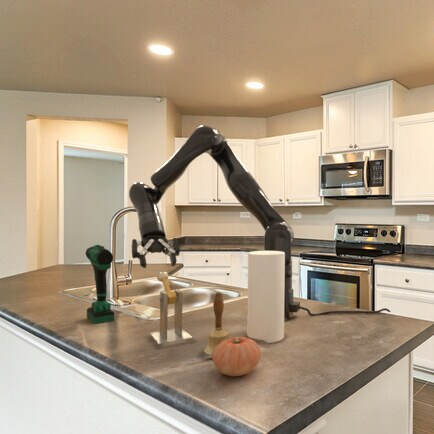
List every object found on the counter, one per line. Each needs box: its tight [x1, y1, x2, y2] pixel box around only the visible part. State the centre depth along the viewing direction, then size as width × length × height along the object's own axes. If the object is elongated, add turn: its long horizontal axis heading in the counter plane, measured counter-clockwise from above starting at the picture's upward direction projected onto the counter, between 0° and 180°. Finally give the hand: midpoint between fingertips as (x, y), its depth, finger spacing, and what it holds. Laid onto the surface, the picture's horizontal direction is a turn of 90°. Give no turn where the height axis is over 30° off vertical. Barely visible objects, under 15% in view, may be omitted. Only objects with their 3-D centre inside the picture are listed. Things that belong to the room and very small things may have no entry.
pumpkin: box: [212, 336, 262, 377], centre depth 87 cm, size 11×11×8 cm
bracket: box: [149, 288, 193, 345], centre depth 109 cm, size 11×9×14 cm
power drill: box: [85, 244, 115, 325], centre depth 132 cm, size 6×29×25 cm, turn 41°
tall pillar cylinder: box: [246, 250, 285, 344], centre depth 112 cm, size 11×11×25 cm
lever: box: [156, 270, 177, 305], centre depth 113 cm, size 14×3×3 cm, turn 36°
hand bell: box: [203, 291, 229, 361], centre depth 99 cm, size 8×8×16 cm
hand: (159, 265), depth 120 cm, fingers open, 8 cm apart
